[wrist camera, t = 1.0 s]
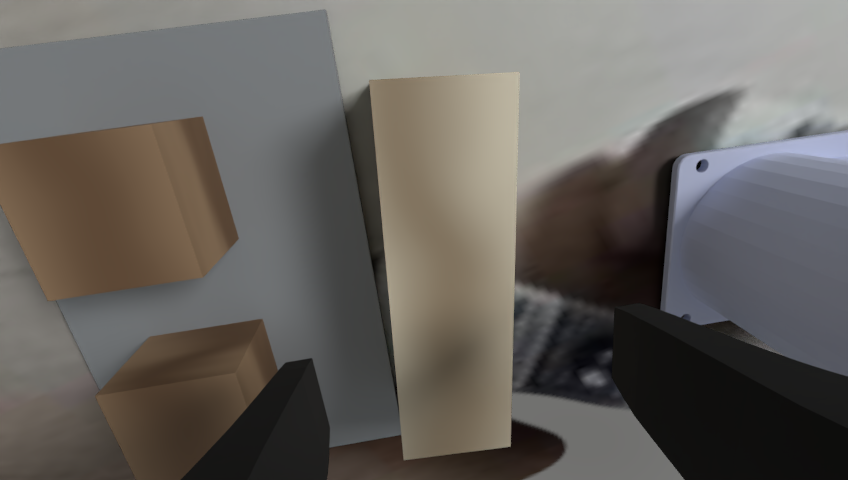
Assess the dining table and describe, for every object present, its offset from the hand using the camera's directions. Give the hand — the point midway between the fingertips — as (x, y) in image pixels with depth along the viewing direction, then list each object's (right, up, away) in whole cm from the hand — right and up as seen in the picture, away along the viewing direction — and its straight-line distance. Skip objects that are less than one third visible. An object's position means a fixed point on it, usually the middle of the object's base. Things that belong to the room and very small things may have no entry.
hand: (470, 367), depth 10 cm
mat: (-9, +1, +7) cm, 11 cm away
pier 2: (-10, -3, +8) cm, 13 cm away
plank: (-1, +3, +8) cm, 8 cm away
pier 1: (-11, +5, +5) cm, 13 cm away
